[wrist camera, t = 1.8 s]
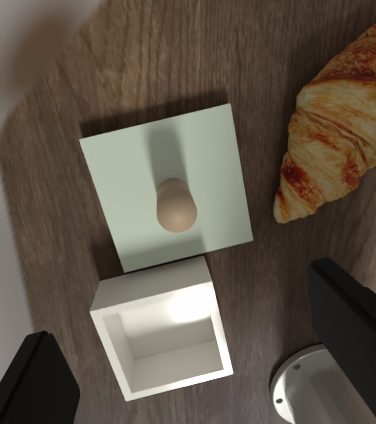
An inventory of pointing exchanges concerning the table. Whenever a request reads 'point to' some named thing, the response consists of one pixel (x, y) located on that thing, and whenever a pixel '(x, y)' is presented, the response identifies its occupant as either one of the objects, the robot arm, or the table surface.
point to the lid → (171, 187)
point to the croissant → (331, 132)
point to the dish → (161, 328)
